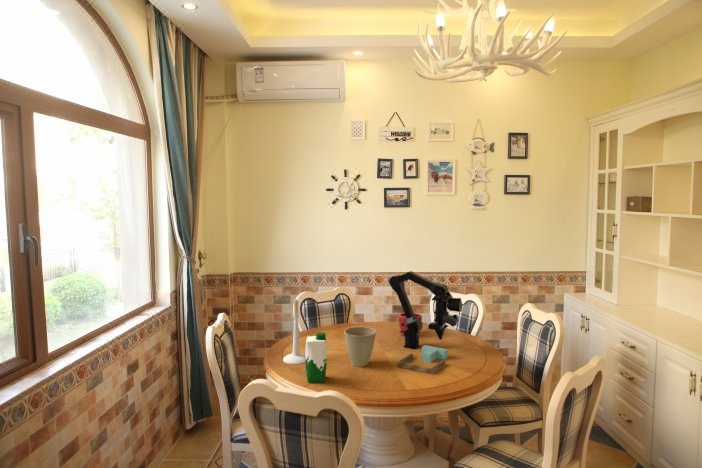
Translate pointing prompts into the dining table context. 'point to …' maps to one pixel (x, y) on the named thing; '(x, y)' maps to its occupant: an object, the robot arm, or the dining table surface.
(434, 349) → the tee
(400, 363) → the dock
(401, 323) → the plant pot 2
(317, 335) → the milk carton
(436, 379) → the dining table surface
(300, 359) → the candlestick
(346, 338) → the plant pot
